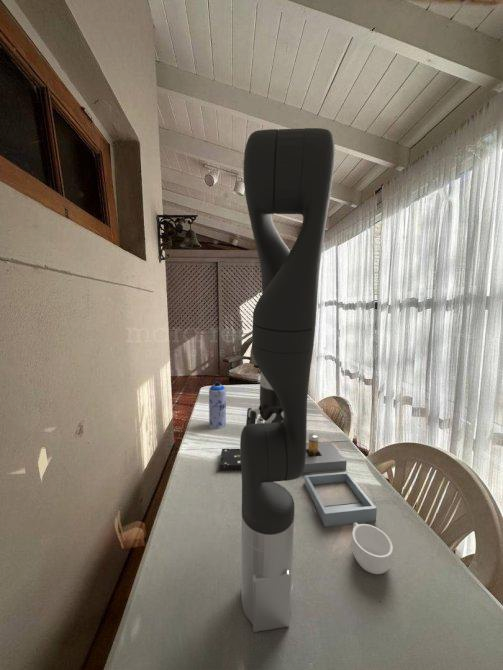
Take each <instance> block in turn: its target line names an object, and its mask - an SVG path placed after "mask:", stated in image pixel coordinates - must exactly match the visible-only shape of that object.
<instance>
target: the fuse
mask: <svg viewBox="0 0 503 670" xmlns="http://www.w3.org/2000/svg"><path fill="white" fill-rule="evenodd" d="M319 437H320V436H319V435H318V434H317V433H309V434H308V443H309V446H308V456H309V457H313V456H318V443H319Z"/></svg>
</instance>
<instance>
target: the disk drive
mask: <svg viewBox="0 0 503 670" xmlns="http://www.w3.org/2000/svg"><path fill="white" fill-rule="evenodd" d="M219 459H220V460H219V465H218V466H219V467H218V469H219V470H218V471H219V472H241V455H240V448H222V449H221V453H220V458H219Z"/></svg>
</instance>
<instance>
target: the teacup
mask: <svg viewBox="0 0 503 670" xmlns="http://www.w3.org/2000/svg"><path fill="white" fill-rule="evenodd" d="M351 550H352V553H353V556H354V558H355V560H356V562H357V564H358V565H359V566H360V567H361V568H362V569H363V570H365V571H366V572H368V573H370V574H374V575H381V574H384V573H386V572H387V571H388V570H389V569H390V567H391V563H392V557H393V553H394V551H393V550H394V547H393V543H392V540H391V539H390V537H389V536H388V535H387V534H386V533H385V532H384V531H383V530H381V528H380V529H379V528H378V527H376V526H373V525H372V524H369V523H368V524H367V523H354V524H352V533H351Z"/></svg>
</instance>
